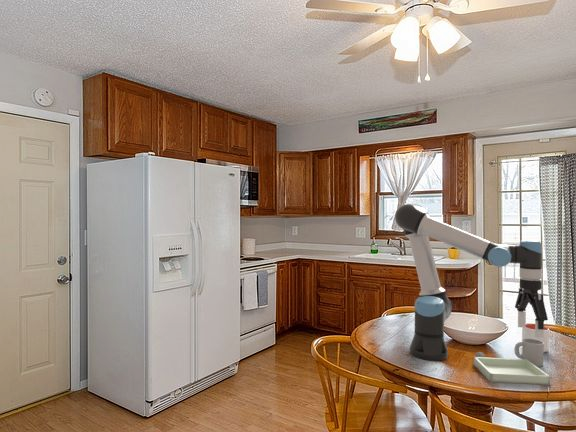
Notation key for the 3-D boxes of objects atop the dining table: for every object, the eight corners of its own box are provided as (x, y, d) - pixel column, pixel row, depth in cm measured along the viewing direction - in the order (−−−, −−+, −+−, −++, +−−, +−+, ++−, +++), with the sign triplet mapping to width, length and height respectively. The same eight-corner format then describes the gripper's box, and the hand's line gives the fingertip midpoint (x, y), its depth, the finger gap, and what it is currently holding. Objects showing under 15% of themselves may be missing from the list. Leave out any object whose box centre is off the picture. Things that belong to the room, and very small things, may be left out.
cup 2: (544, 368, 152) (545, 345, 152) (515, 363, 156) (515, 341, 156) (541, 361, 158) (541, 339, 158) (513, 357, 162) (513, 336, 162)
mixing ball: (477, 362, 156) (477, 353, 156) (473, 359, 160) (474, 350, 160) (486, 363, 156) (486, 354, 156) (483, 359, 160) (483, 351, 160)
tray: (490, 381, 139) (490, 373, 138) (473, 364, 154) (473, 356, 154) (550, 385, 137) (550, 376, 137) (526, 367, 152) (527, 359, 152)
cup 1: (552, 354, 167) (553, 331, 167) (527, 352, 169) (527, 329, 169) (542, 346, 177) (543, 324, 177) (518, 344, 179) (518, 323, 179)
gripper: (558, 284, 144) (558, 342, 144) (524, 274, 169) (524, 323, 169) (537, 284, 145) (536, 341, 145) (506, 274, 170) (506, 323, 170)
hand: (530, 332), depth 157 cm, fingers open, 13 cm apart
